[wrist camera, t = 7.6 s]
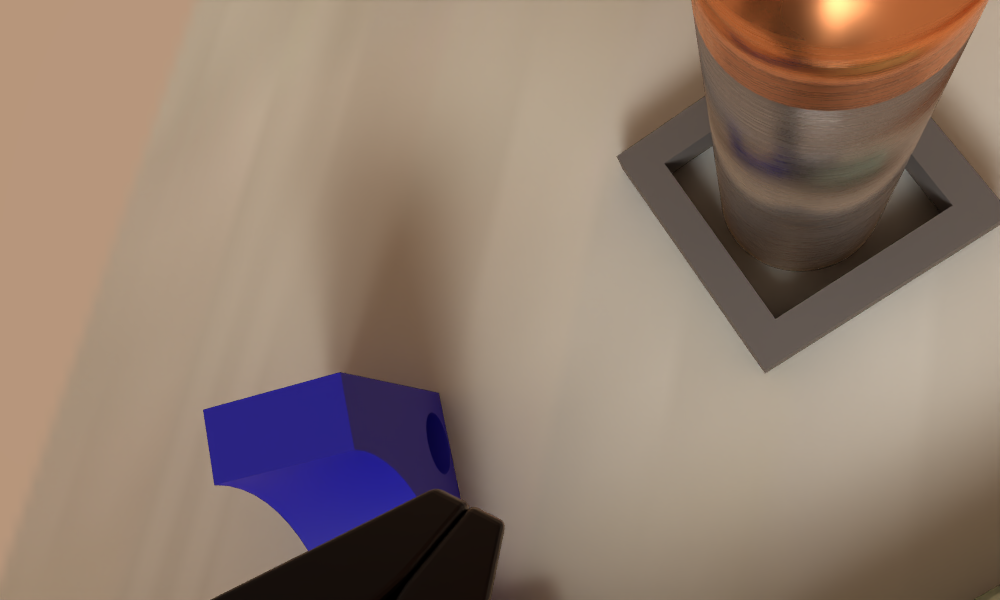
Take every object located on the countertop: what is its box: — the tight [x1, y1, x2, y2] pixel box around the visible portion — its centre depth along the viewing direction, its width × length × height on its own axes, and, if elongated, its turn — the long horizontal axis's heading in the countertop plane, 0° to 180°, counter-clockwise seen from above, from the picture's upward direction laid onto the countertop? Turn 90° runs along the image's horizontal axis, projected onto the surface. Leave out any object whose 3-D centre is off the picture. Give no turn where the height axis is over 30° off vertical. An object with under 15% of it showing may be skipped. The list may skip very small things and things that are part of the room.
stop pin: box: [691, 0, 988, 271], centre depth 16 cm, size 4×4×12 cm
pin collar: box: [617, 96, 1000, 373], centre depth 22 cm, size 6×6×1 cm
